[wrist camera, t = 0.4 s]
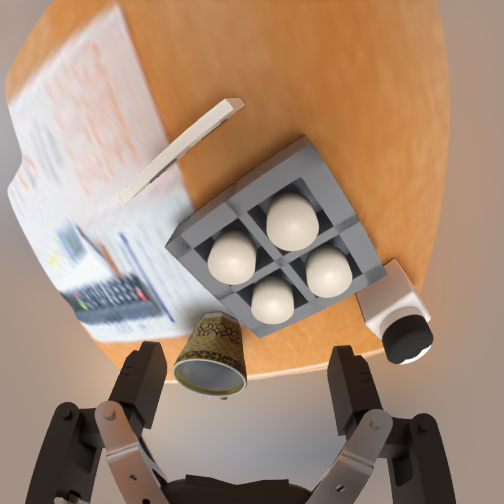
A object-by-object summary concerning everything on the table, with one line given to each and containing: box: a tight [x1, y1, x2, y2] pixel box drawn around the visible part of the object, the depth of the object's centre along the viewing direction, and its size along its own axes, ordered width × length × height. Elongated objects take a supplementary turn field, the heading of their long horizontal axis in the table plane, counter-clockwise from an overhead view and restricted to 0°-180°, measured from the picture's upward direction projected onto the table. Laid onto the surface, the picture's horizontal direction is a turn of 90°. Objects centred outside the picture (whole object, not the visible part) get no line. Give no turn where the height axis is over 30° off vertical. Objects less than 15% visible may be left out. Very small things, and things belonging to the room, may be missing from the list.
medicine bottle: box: [355, 259, 433, 364], centre depth 30 cm, size 7×7×12 cm
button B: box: [305, 245, 352, 298], centre depth 28 cm, size 5×5×3 cm
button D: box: [251, 276, 294, 324], centre depth 31 cm, size 5×5×3 cm
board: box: [165, 135, 388, 338], centre depth 30 cm, size 18×17×5 cm
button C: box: [208, 230, 257, 285], centre depth 28 cm, size 5×5×3 cm
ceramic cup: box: [172, 312, 247, 400], centre depth 38 cm, size 13×10×10 cm
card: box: [118, 98, 245, 205], centre depth 23 cm, size 12×1×9 cm, turn 127°
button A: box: [267, 192, 319, 251], centre depth 25 cm, size 5×5×3 cm
